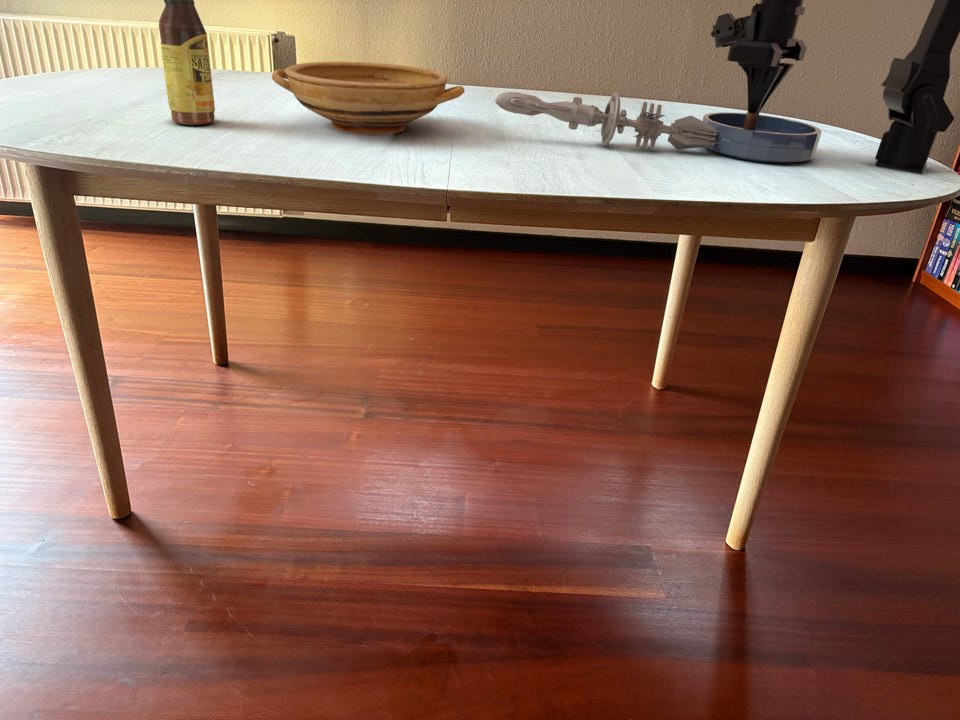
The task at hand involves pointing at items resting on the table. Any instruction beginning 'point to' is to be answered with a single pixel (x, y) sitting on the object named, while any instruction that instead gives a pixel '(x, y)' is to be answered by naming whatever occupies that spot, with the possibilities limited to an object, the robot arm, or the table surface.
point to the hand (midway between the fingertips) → (753, 112)
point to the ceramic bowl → (366, 93)
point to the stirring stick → (751, 120)
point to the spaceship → (615, 120)
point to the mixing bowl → (763, 138)
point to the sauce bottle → (186, 64)
